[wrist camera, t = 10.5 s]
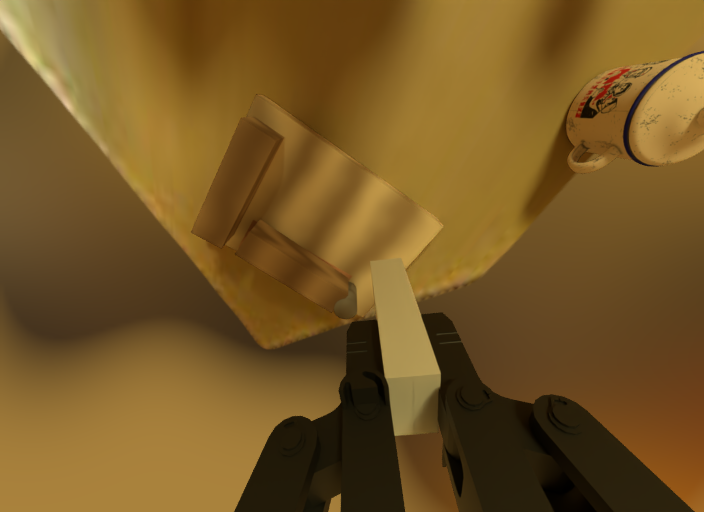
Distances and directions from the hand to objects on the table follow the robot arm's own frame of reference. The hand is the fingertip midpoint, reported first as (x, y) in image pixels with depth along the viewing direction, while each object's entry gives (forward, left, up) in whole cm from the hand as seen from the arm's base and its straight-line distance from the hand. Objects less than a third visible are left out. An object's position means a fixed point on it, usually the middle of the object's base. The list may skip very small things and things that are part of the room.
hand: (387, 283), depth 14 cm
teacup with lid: (+18, +20, -25) cm, 37 cm away
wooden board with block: (-2, -8, -24) cm, 26 cm away
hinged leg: (0, -13, -21) cm, 25 cm away
